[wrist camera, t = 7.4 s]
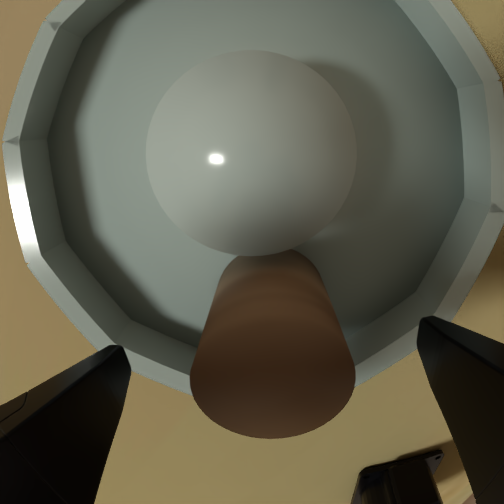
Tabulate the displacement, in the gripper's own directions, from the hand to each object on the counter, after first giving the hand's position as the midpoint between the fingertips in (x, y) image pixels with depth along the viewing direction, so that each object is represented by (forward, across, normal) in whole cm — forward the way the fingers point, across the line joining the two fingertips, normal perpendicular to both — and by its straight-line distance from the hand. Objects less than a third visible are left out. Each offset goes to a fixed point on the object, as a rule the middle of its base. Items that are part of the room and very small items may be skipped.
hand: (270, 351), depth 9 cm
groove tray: (+4, 0, -5) cm, 7 cm away
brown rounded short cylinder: (+3, 0, 0) cm, 3 cm away
